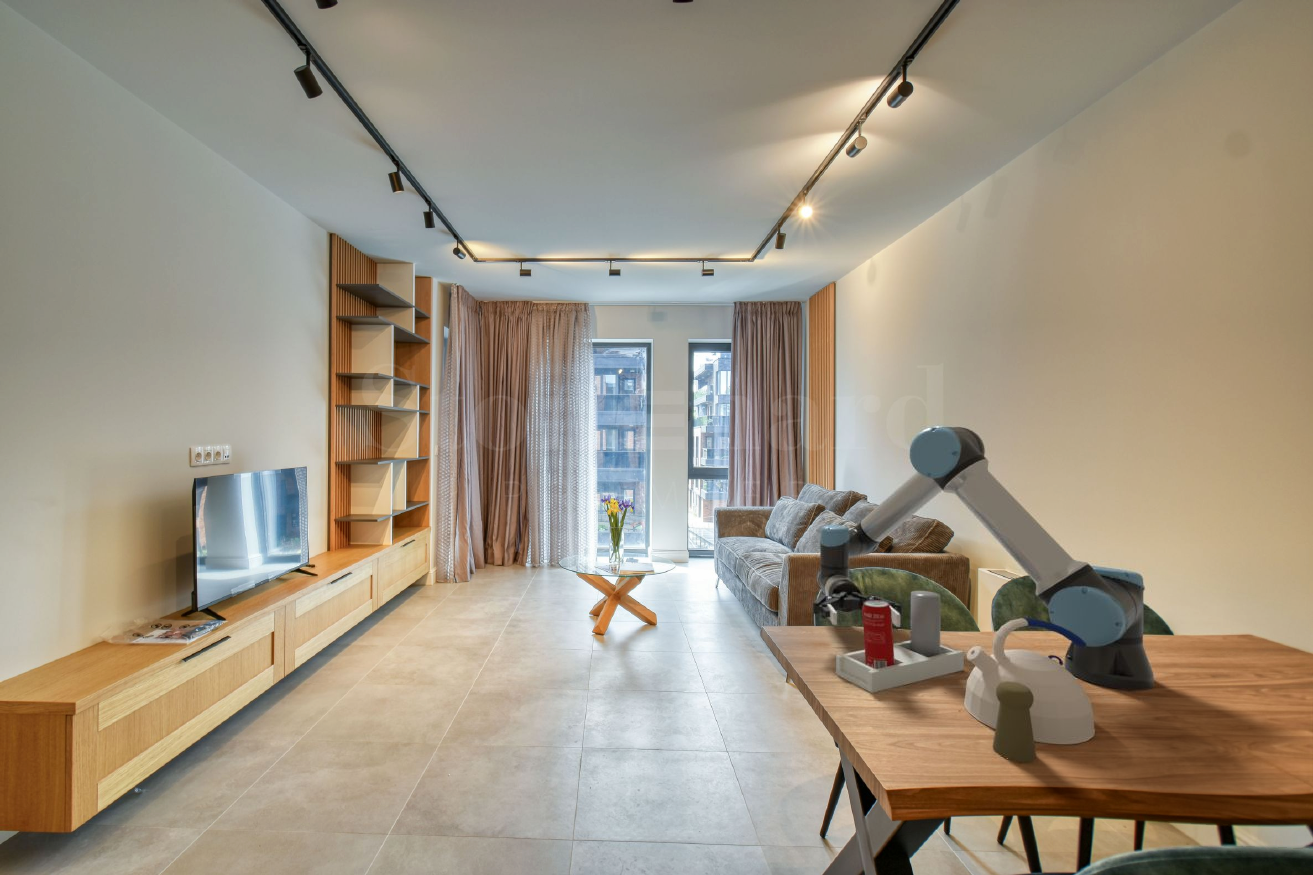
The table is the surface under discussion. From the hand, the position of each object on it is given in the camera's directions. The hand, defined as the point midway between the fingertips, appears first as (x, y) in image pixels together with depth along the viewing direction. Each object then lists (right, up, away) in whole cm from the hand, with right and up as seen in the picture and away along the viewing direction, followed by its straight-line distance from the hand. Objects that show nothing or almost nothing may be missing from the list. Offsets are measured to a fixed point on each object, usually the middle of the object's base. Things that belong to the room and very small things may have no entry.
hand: (866, 619), depth 129 cm
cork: (+12, -11, -34) cm, 38 cm away
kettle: (+21, -11, -22) cm, 32 cm away
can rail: (+7, -11, -2) cm, 13 cm away
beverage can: (+1, -10, -5) cm, 11 cm away
